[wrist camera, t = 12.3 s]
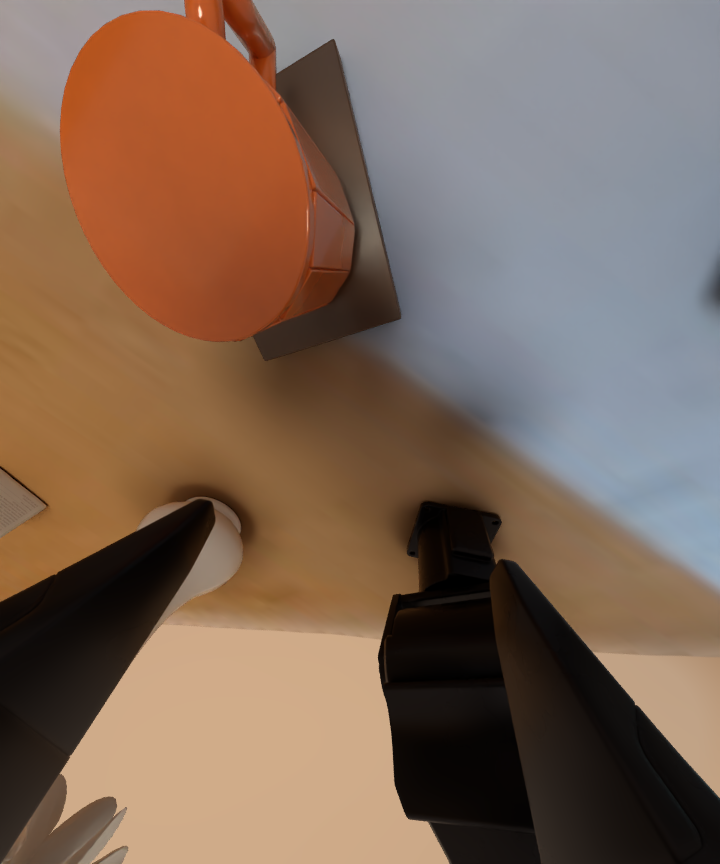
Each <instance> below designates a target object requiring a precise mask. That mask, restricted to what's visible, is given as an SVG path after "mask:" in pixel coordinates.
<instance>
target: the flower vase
mask: <svg viewBox="0 0 720 864" xmlns="http://www.w3.org/2000/svg"><path fill="white" fill-rule="evenodd" d="M196 499H206V500H210V501H212V503H213V506H214V512H215V517H216V521H215V525H214V527H213V529H212V531H211V533H210V535H209V537H208V539H207V541H206V543H205V545H204V547H203V548H202V550H201V552H200V554H199V556H198V558H197V560H196V562H195V564H194V566H193V568H192V569H191V571H190V573H189V574H188V576H187V578H186V579H185V581H184V582H183V584H182V585H181V587H180V589H179V590H178V592H177V593H176V595H175V596H174V598H173V599H172V601H171V602H170V604H169V605H168V607H167V609H166V610H165V612H164V613H163V615H162V616H161V618H160V619H159V621H158V622H157V624H156V625H155V627H154V629H153V630H152V632H151V633H150V635H149V636H148V638H147V639H146V641H145V642H144V644H143V646H144V645H145V644H146V642H147V641H148V640H149V639H150V637H151V636H152V635H153V634H154V633H155V631H156V630H157V629H158V628H159V627H160V626H161V625H162V624H163V622H164V621H165V620H166V619H168V618H169V617H170V616H171V615H172V614H173V613H174V612H175V611H177V610H178V609H179V608H180V607H182V606H183V605H184V604H186V603H187V602H188V601H190V600H191V599H193V598H195V597H198V596H201V595H204V594H207V593H209V592H211V591H213V590H215V589H218V588H219V587H221V586H223V585H224V584H225V583H226V582H227V581H228V580H229V579H230V578H231V577H232V576H233V575H234V574H235V573H236V572H237V571H238V569H239V568H240V565H241V562H242V559H243V544H242V538H241V536H240V532H241V523H240V521H239V518H238V516H237V515H236V514H235V513H234V511H233V510H232V509H230V508H229V507H228V506H227V505H225V504H224V503H222V502H220V501H218V500H215V499H213V498H208V497H194V498H190V499H188V500H187V501H178V502H172V503H168V504H165V505H161V506H158V507H156V508H155V509H153V510H152V511H150V512H149V513H148V514H146V515H145V516H144V518H143V519H142V520H141V522H140V523H139V525H138V527H137V529H136V531H137V530H139V529H141V528H143V527H145V526H147V525H149V524H151V523H153V522H154V521H156V520H158V519H160V518H162V517H164V516H166V515H168V514H170V513H171V512H173V511H175V510H177V509H179V508H181V507H183V506H185V505H187V504H189V503H190V502H192V501H194V500H196ZM143 646H142V647H143ZM142 647H141V649H142ZM141 649H140V650H141ZM140 650H139V652H140ZM139 652H138V653H139ZM138 653H137V654H138ZM135 657H136V656H135ZM133 660H134V659H133ZM66 789H67V785H66V780H65V778H64V776H63V775H62V774H59V775H58V777H57V778H56V780H55V781H54V783H53V785H52V786H51V788H50V789H49V791H48V792H47V794H46V795H45V797H44V798H43V800H42V801H41V803H40V805H39V806H38V808H37V809H36V811H35V812H34V814H33V815H32V817H31V818H30V820H29V821H28V823H27V825H26V826H25V828H24V829H23V831H22V832H21V834H20V835H19V837H18V838H17V840H16V841H15V843H14V845H13V846H12V848H11V849H10V851H9V852H8V854H7V855H6V857H5V858H4V860H3V861H2V863H1V864H89V863H90V862H92V860H94V859H95V857H96V856H97V855H98V854H99V852H100V851H101V850H102V849H103V848H104V847H105V845H106V844H107V842H108V841H109V840H110V838H111V837H112V836H113V833H114V832H115V830H116V829H117V828H118V826H119V824H120V822H121V821H122V819H123V817H124V815H125V813H126V810H127V808H126V807H125V808H124V809H123V810H121V811H120V812H119V813H118V814H116V815H115V816H114V814H115V812H116V808H117V804H116V799H115V798H114V797H104V798H102V799H98V800H96V801H94V802H92V803H90V804H89V805H87V806H86V807H84V808H82V809H81V810H79V811H78V812H77V813H76V814H74V815H73V816H71V817H70V818H69V819H68V820H66V821H65V822H64V823H63V824H61V825H60V826H59V827H58V828H56V829H55V830H54V831H53V832H52V830H53V829H54V827H55V826H56V824H57V823H58V821H59V819H60V817H61V814H62V812H63V808H64V804H65V800H66V794H67V790H66ZM113 816H114V817H113ZM51 832H52V833H51ZM50 833H51V834H50ZM49 834H50V835H49ZM127 851H128V847H127V846H122V847H120V848H118V849H116V850H114V851H112V852H110V853H109V854H107V855H106V856H104V857H103V858H101V859H99V860H98V861H96V862H94V863H92V864H121V863H122V862H123V860H124V857H125V855H126V853H127Z"/></svg>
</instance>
